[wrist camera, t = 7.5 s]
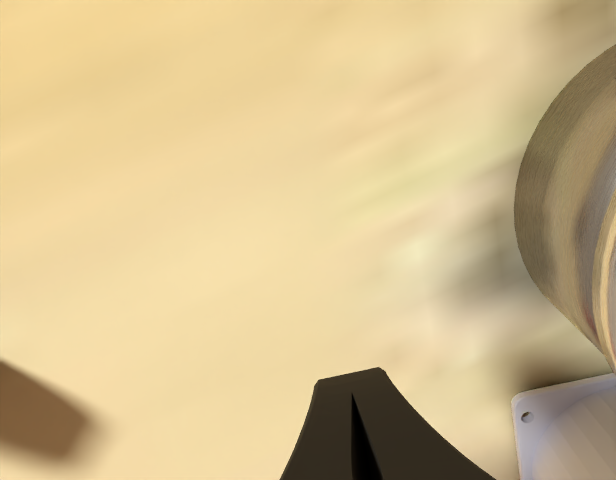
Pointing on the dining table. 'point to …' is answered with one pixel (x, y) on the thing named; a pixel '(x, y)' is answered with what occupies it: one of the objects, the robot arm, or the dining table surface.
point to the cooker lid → (606, 285)
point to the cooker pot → (569, 190)
